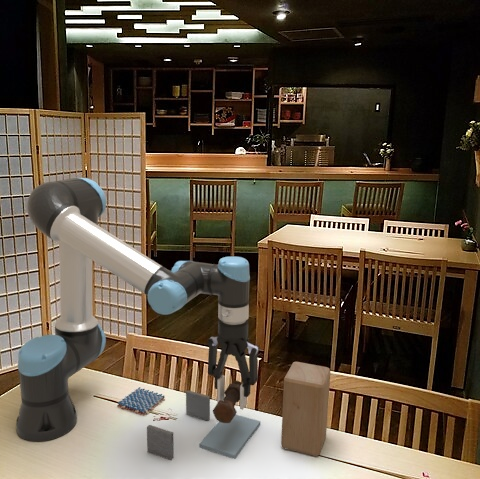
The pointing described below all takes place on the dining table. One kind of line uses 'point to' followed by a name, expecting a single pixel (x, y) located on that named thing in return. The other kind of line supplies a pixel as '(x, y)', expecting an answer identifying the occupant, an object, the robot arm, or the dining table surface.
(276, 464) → the dining table surface
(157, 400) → the woven mat
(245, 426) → the slate pad
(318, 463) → the dining table surface
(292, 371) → the wooden block
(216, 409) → the bolt
